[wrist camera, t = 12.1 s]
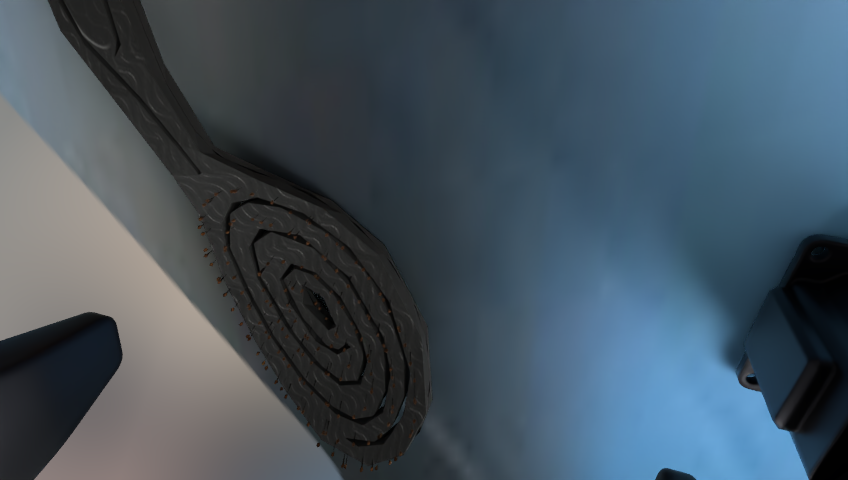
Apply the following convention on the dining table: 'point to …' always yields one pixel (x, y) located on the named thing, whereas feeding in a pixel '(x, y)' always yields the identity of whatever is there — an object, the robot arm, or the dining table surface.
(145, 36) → the hairbrush
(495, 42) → the dining table surface
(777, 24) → the dining table surface
